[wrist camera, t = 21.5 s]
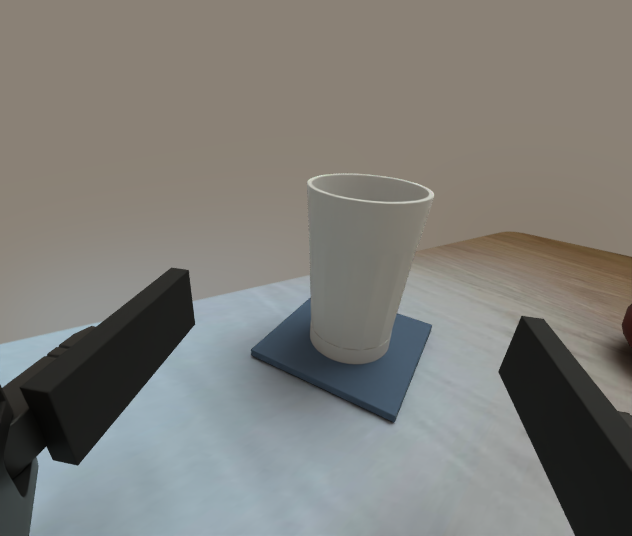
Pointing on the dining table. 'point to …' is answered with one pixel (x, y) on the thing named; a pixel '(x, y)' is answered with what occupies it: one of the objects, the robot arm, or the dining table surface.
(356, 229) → the cup
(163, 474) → the dining table surface
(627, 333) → the potato
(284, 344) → the mat
